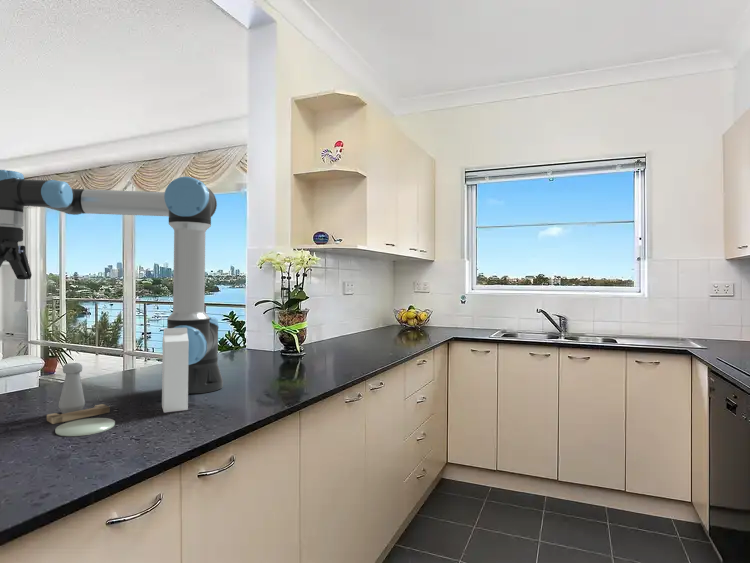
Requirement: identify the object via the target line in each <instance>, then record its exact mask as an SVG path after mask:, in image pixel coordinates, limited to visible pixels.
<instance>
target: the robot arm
mask: <svg viewBox="0 0 750 563" xmlns="http://www.w3.org/2000/svg"><path fill="white" fill-rule="evenodd" d="M24 207H37V208H47V209H51V210H54V211H58V212H61V213H64V214H67V215H74V216H76V215H77V216H79V215H81V214H82V215H84V214H89V215H91V214H92V215H93V214H94V215H116V216H118V215H122V216H143V217H144V216H145V217H150V216H151V217H153V216H154V217H168V225H169V227H170V228H172V229H173V288H172V290H173V297H172V299H173V300H172V302H173V303H172V307H173V308H172V313H170V314H169V316H168V317H167V319H166V320H167V325H166V326H167V327H166V328H187V334H188V340H189V349H188V394H203V393H204V394H205V393H211V392H215V391H219V390H221V389H222V388H223V387H224V380H223V376H222V373H221V369H220V367H219V363H218V358H219V356H218V355H219V350H218V349H219V328H220V327H219V321H218V319H217V318H216V317H213V316H212V317H211V316H209V315H208V314H207V313H206V312H205V298H206V297H205V290H206V289H205V286H206V285H205V284H206V283H205V282H206V232H207V230H209V229H210V228H211V226H212V218H213V215H215V213H216V210H217V207H218V203H217V198H216V196H215V194H214V193H213V191H212V190H211V189H210V188H208V187H207V185H205V183H204V182H203V181H201V180H200V179H197V178H195V177H191V176H179V177H177V178H174V179H173V180H172V181H170V182H169V183H168V185H167V186H166V188H165V190H164V192H163V191H141V190H140V191H138V190H137V191H136V190H115V189H113V190H112V189H92V188H91V189H90V188H89V189H86V188H85V189H83V188H72V187H71V186H70V185H69V183H68V182H67V181H63V180H56V179H26V178H24V174H23V173H22V172H19V171H16V170H15V171H14V170H9V169H8V170H6V169H0V268H1V266H2V265H3V263H4V262H8V263H9V265H10V267H11V269H12V271H13V273H14V275H15V277H16V278H15V279H14V302H15V303H16V302H17V303H18V302H27V280H30V279H31V278H32V270H31V268H30V265H29V261H28V257H27V254H26V246H25V245H19V244H18V243H19V242H20V243H21V242H23V241H24V229H23V228H22V227H24ZM161 344H162V347H161V348H163V342H162V343H161Z"/></svg>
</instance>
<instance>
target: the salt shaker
mask: <svg viewBox="0 0 750 563" xmlns="http://www.w3.org/2000/svg"><path fill="white" fill-rule="evenodd" d="M82 371H83V365H82V363H79V362H70V363H69V362H68V363H66V364H64V365H63V366H62V373H64V374H65V377H64V380H63V384H62V389H61V392H60V393H61V394H60V398H59V402H58V408H59V410H60V412H61V414H64V413H69V412H75V411H80V410H84V408H85V404H86V401H85V396H84V389H83V383H82V377H81V373H82Z"/></svg>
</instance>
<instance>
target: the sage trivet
mask: <svg viewBox="0 0 750 563" xmlns="http://www.w3.org/2000/svg"><path fill="white" fill-rule="evenodd" d="M115 425H116V420H114V419H111V418H107V417H91V418H89V417H87V418H80V419H75V420H70V421H66V422H65V423H64V422H63V423H62V424H60V425H58V426H56V427H55V428H54V429H55V434H56V435H58V436H61V437H82V436H84V437H85V436H91V435H95V434H99V433H103V432H106V431H109V430H111V429H112V428H114V427H115Z"/></svg>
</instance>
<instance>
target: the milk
mask: <svg viewBox="0 0 750 563" xmlns="http://www.w3.org/2000/svg"><path fill="white" fill-rule="evenodd" d="M162 336H163V337H162V343H163V347H162V359H161V360H162V364H161V365H162V368H161V370H162V371H161V372H162V374H161V376H162V377H161V407H162V411H163V413H173V412H181V411H187V410H189V408H188V407H189V393H188V349H189V340H188V334H187V328H167V327H166V328H164V329H163V335H162Z"/></svg>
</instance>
